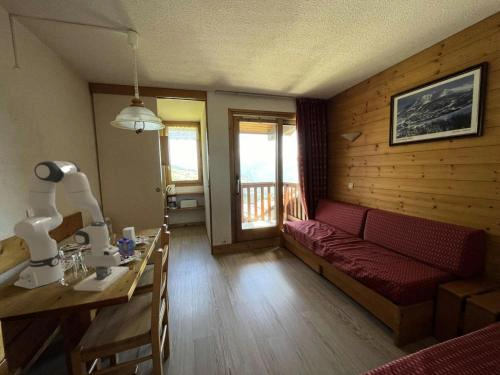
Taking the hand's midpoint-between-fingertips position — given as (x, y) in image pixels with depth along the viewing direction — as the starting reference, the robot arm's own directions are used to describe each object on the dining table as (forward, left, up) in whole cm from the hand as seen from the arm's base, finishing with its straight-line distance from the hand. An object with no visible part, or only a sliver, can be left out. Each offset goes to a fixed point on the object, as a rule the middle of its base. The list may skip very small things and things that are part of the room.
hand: (103, 272), depth 123 cm
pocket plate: (0, 0, -4) cm, 4 cm away
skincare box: (-15, +46, -4) cm, 48 cm away
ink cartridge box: (-7, +31, -4) cm, 32 cm away
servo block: (0, 0, -3) cm, 3 cm away
